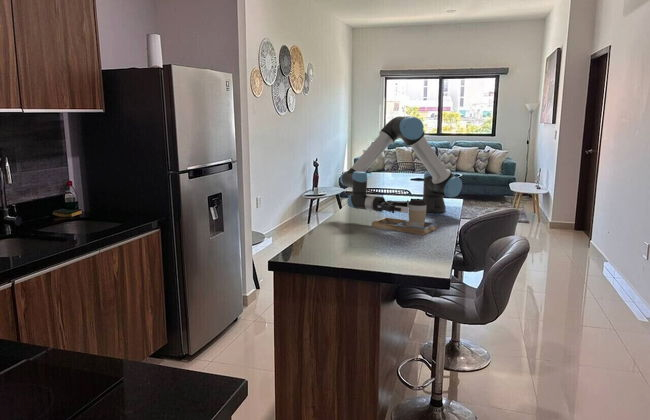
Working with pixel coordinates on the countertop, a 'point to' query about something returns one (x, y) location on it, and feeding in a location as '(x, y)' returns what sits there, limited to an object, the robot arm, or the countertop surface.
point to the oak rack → (403, 226)
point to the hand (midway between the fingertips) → (413, 208)
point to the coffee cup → (417, 212)
